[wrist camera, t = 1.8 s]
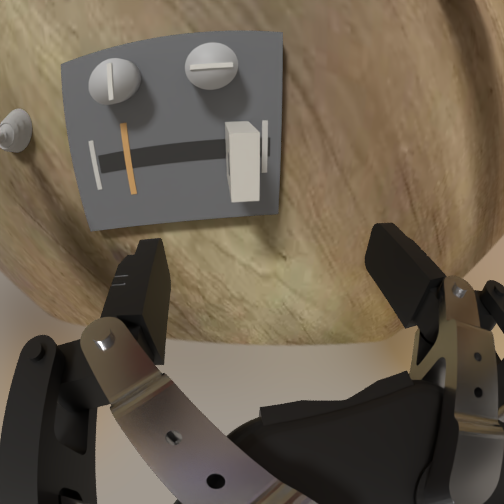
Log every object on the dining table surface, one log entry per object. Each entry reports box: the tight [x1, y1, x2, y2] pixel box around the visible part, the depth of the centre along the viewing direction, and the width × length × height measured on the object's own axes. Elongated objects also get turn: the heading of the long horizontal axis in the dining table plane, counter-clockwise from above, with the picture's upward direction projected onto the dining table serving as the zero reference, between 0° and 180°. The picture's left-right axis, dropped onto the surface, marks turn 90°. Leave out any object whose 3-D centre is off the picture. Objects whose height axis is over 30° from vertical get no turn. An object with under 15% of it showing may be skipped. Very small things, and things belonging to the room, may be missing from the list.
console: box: [61, 31, 283, 231], centre depth 21 cm, size 20×18×4 cm
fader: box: [225, 121, 260, 202], centre depth 20 cm, size 2×5×6 cm, turn 2°
